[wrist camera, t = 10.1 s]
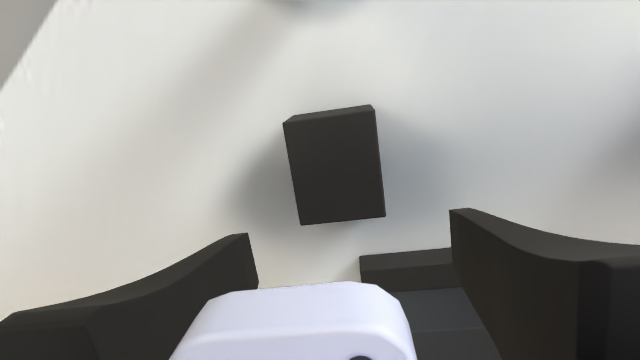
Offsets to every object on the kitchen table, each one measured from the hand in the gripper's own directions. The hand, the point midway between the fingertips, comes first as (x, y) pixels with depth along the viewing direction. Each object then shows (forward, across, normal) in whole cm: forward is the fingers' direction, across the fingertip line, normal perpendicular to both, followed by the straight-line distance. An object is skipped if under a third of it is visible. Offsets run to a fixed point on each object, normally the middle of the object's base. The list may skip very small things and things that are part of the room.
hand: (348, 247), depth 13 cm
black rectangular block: (+7, -4, +9) cm, 12 cm away
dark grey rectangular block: (+9, 0, -1) cm, 9 cm away
